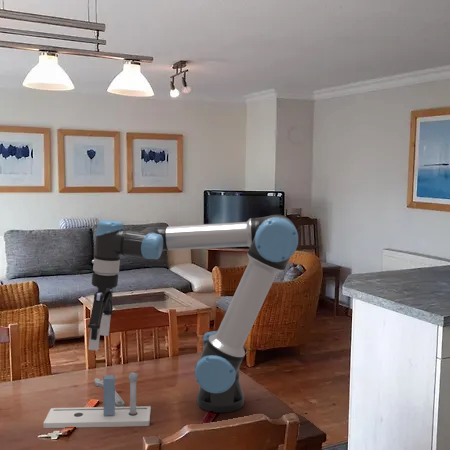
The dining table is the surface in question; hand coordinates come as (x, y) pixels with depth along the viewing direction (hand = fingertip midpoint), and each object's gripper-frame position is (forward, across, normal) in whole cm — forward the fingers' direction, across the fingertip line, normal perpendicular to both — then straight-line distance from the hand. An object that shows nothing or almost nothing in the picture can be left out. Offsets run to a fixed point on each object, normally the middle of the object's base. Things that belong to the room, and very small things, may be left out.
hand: (99, 342), depth 165 cm
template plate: (+22, +4, +3) cm, 23 cm away
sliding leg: (+20, +3, +6) cm, 21 cm away
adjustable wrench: (+23, -16, +1) cm, 28 cm away
